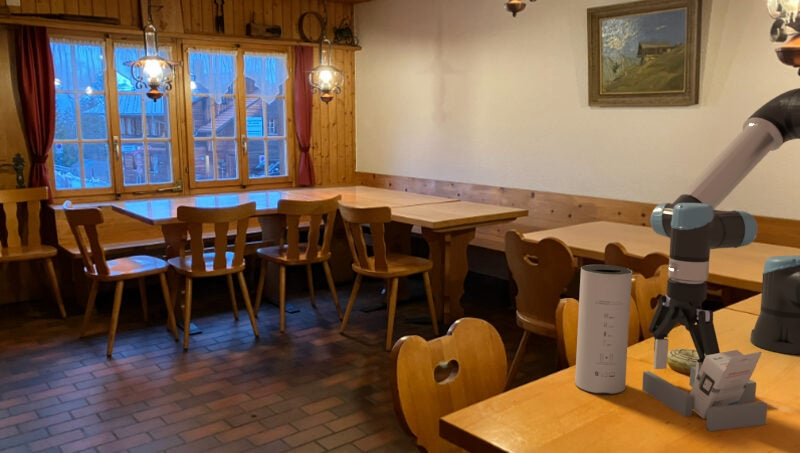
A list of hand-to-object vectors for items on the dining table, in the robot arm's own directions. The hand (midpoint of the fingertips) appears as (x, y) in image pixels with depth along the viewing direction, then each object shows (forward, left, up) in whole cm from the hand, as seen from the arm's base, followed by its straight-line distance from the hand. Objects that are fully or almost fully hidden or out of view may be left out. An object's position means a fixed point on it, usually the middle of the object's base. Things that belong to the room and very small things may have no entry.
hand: (679, 379), depth 142 cm
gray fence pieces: (-3, +7, -3) cm, 8 cm away
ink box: (0, +9, -2) cm, 9 cm away
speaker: (+14, -8, -3) cm, 16 cm away
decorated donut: (-12, -13, -3) cm, 18 cm away
